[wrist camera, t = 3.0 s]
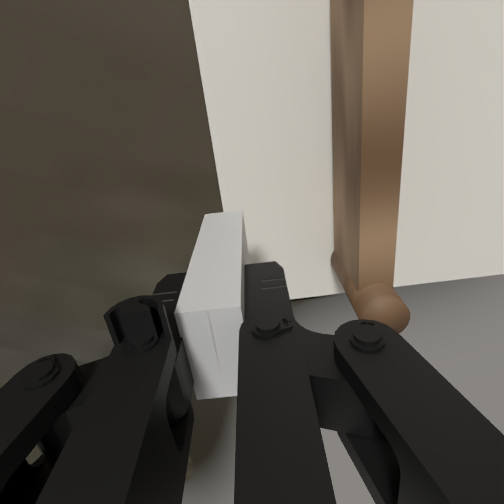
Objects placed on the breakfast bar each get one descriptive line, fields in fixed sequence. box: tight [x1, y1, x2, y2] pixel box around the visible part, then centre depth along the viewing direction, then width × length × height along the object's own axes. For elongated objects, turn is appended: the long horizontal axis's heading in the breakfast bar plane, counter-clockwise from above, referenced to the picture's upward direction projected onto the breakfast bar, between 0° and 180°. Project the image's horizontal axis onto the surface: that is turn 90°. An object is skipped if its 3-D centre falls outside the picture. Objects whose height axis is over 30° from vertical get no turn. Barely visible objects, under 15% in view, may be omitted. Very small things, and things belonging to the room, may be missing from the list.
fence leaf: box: [330, 0, 414, 334], centre depth 13 cm, size 13×2×5 cm, turn 7°
